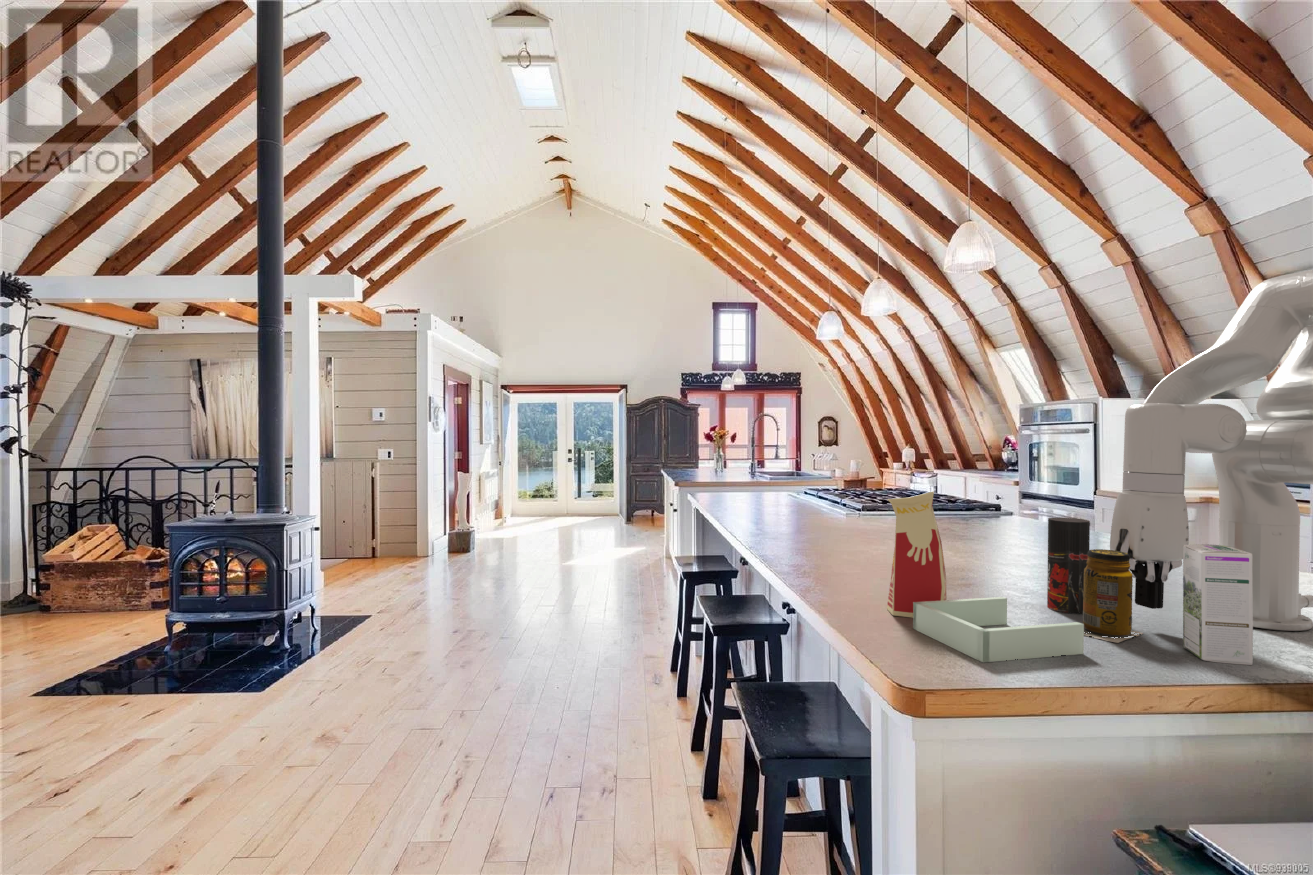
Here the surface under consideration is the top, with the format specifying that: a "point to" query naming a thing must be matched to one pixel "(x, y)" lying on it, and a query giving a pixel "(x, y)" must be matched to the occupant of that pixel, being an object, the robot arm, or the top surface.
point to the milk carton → (916, 556)
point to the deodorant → (1067, 563)
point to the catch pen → (993, 631)
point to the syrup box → (1218, 603)
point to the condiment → (1108, 595)
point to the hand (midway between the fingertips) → (1148, 606)
